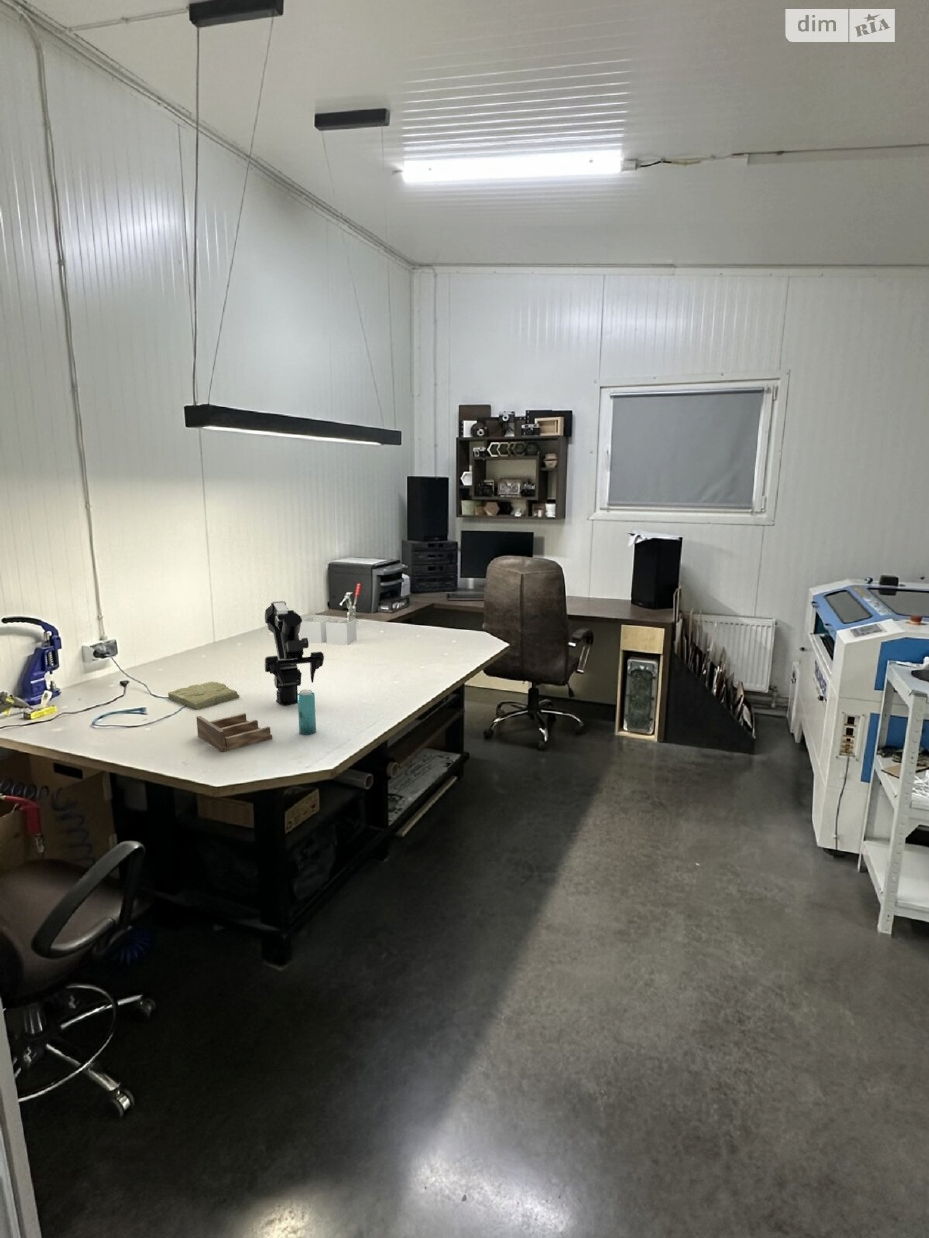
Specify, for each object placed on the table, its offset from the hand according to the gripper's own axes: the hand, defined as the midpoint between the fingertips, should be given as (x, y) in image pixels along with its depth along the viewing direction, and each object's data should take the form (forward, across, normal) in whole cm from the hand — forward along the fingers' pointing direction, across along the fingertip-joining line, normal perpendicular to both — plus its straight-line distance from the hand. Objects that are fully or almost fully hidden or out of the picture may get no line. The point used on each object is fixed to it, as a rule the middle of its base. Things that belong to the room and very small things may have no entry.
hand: (298, 683), depth 218 cm
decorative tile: (-20, -27, +39) cm, 52 cm away
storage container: (-74, +33, +90) cm, 121 cm away
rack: (+12, -21, +7) cm, 25 cm away
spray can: (+15, +1, +4) cm, 16 cm away
